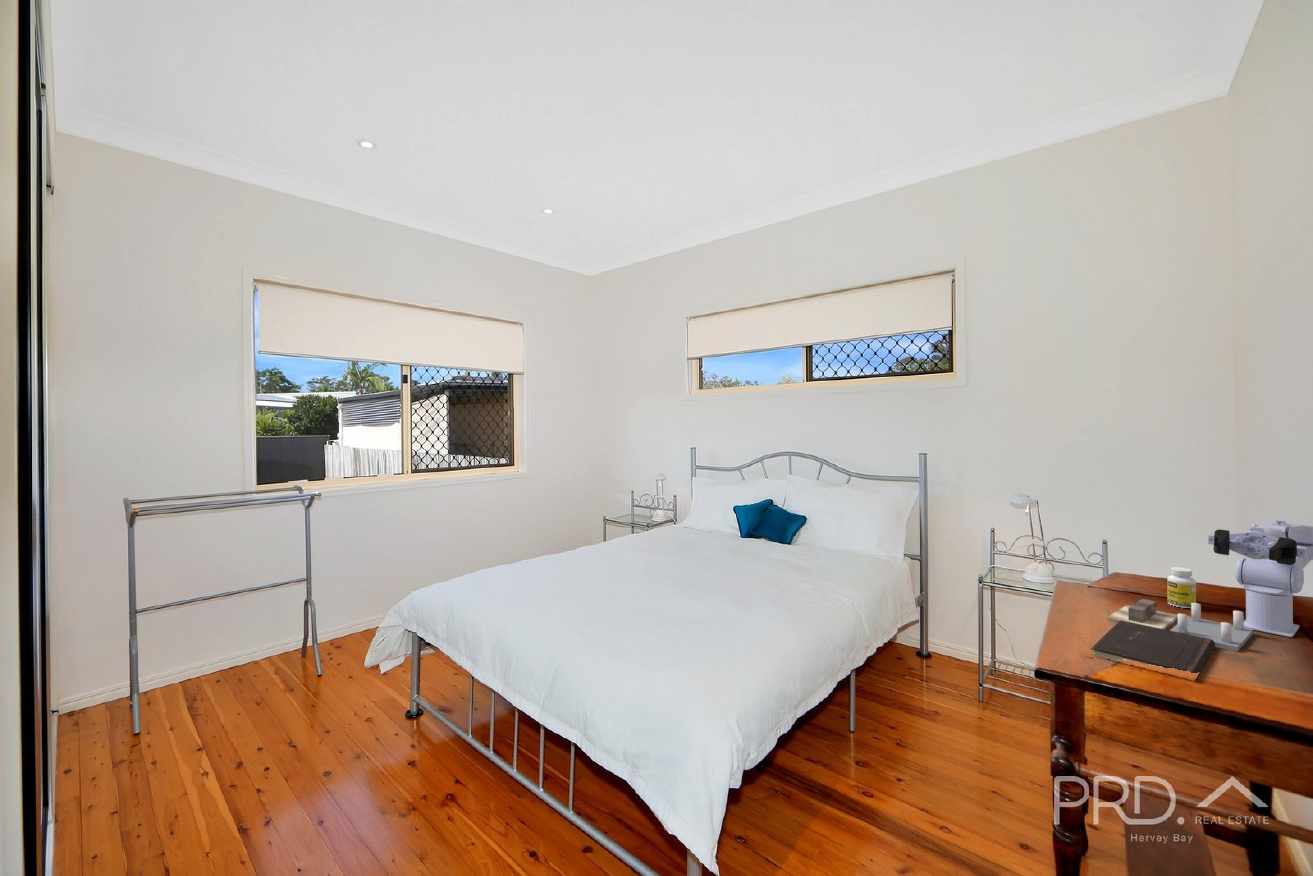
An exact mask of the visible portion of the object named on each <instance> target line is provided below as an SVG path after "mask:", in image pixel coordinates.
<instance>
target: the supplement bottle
mask: <svg viewBox="0 0 1313 876" xmlns="http://www.w3.org/2000/svg"><path fill="white" fill-rule="evenodd" d="M1170 573H1171V575H1169V576H1167V581H1166V582H1167V584H1166V585H1167V587H1166V588H1167V592H1166V593H1167V604H1168V605H1169V604H1170V605H1169V606H1171V605H1173V606H1172V607H1174V606H1176V607H1175V608H1177V607H1181V608H1180V609H1183V608H1190V609H1189V610H1191V603H1197V581H1196V579H1195V578H1193V570H1192V569H1191V568H1187V567H1182V566H1181V567H1179V566H1172V567H1171V568H1170Z"/></svg>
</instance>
